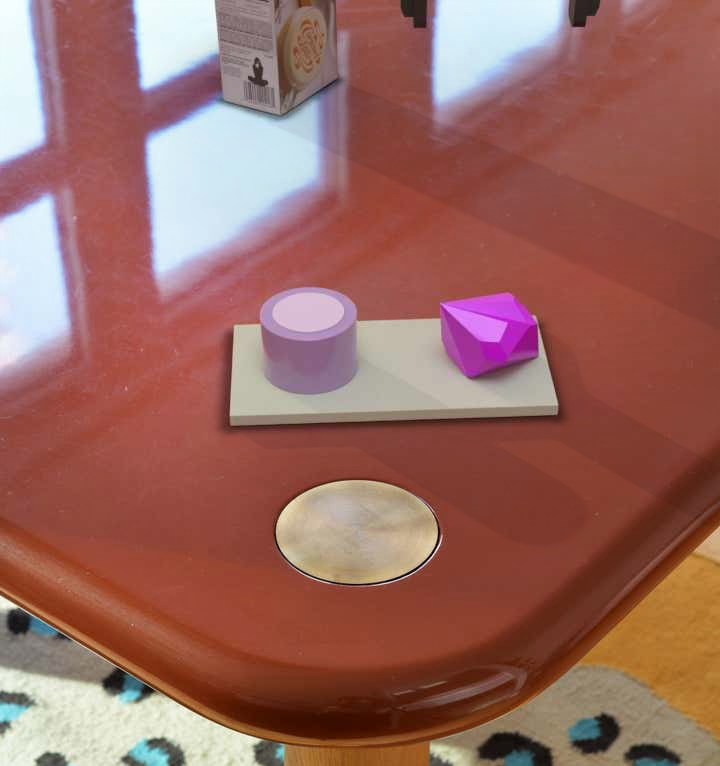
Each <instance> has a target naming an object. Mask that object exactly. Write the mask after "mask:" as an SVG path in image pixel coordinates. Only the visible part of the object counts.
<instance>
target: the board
mask: <svg viewBox="0 0 720 766" xmlns="http://www.w3.org/2000/svg"><path fill="white" fill-rule="evenodd" d="M531 316H532V317H533V318H534V320H535V321H536V322H537V324H538V344H539V356H538V357H535V358H531V359H528V360H525V361H522V362H519V363H516V364H513V365H509V366H506V367H503V368H500V369H497V370H494V371H490V372H487V373H484V374H481V375H478V376H475V377H466V376H465V375H464V373H463V372H462V371H461V370H460V369H459V367H458V366H457V365H456V364H455V362H454V361H453V360H452V359H451V358H450V356H449V355H448V354H447V353H446V350H445V348H444V345H443V343H442V340H441V319H440V318H413V319H412V318H411V319H381V320H380V319H379V320H377V319H375V320H357V325H358V369H357V372H356V374H355V376H354V377H353V379H352V380H351V381H350V382H348V383H347V384H346V385H344V386H342V387H340V388H338V389H336V390H333V391H330V392H325V393H320V394H298V393H292V392H288V391H285V390H282V389H280V388H278V387H276V386H275V385H273V384H272V383H271V382H270V381H269V380H268V379H267V378H266V376H265V374H264V371H263V359H262V345H261V331H260V323H253V324H251V323H250V324H249V323H248V324H234V325H233V340H232V360H231V361H232V363H231V382H230V399H229V400H230V402H229V403H230V404H229V423H230V426H231V427H234V426H235V427H236V426H237V427H239V426H240V427H241V426H269V425H271V426H272V425H273V426H274V425H299V424H301V425H302V424H326V423H327V424H329V423H356V422H357V423H359V422H360V423H361V422H389V421H390V422H391V421H393V422H394V421H415V420H416V421H419V420H448V419H449V420H451V419H475V418H477V419H478V418H480V419H481V418H482V419H483V418H508V417H510V418H511V417H512V418H513V417H538V416H539V417H540V416H558V414H559V401H558V398H557V393H556V390H555V385H554V381H553V377H552V374H551V373H552V372H551V370H550V365H549V361H548V358H547V353H546V350H545V349H546V348H545V346H544V341H543V338H542V334H541V330H540V325H539V321H538V318H537V315H531Z"/></svg>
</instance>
